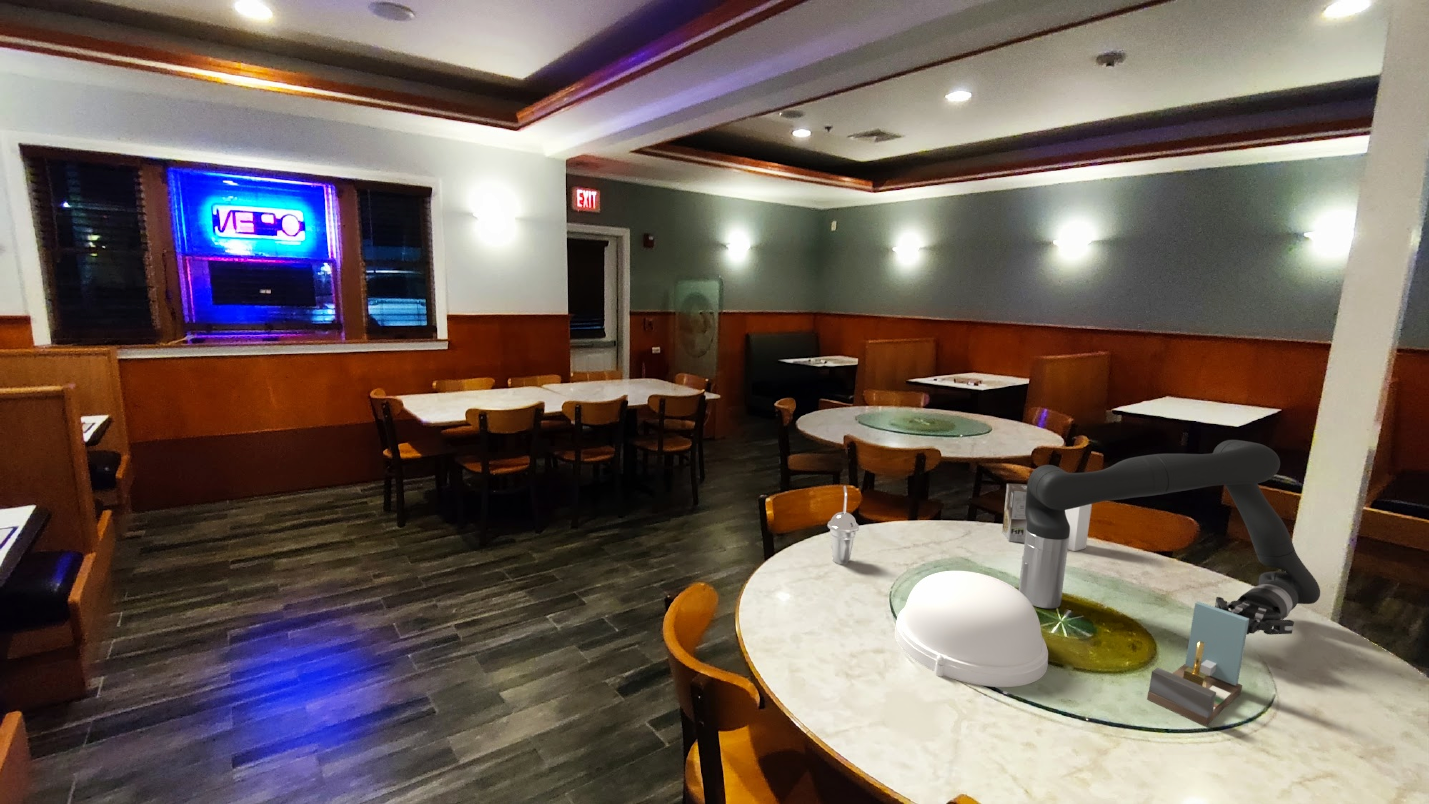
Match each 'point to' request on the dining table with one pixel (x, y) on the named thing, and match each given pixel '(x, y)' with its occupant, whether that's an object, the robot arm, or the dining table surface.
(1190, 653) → the blue-grey rectangular panel
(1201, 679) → the gold upright bar
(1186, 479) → the robot arm
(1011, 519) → the coffee box
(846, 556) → the cup with straw
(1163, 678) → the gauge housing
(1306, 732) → the dining table surface
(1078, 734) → the dining table surface
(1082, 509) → the milk
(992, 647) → the dome cover
